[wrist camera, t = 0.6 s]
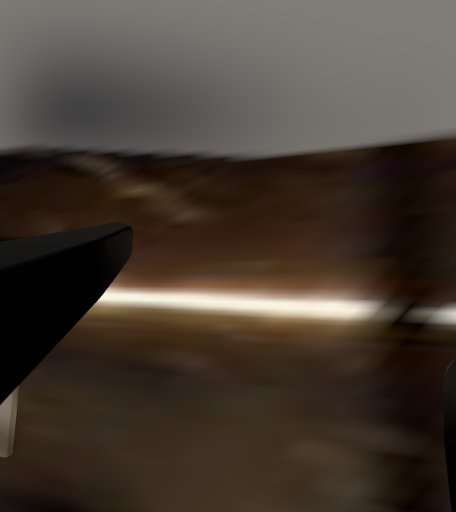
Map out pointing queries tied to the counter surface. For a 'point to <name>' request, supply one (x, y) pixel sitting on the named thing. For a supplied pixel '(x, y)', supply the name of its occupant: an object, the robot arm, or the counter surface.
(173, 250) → the counter surface
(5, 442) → the collar plate
